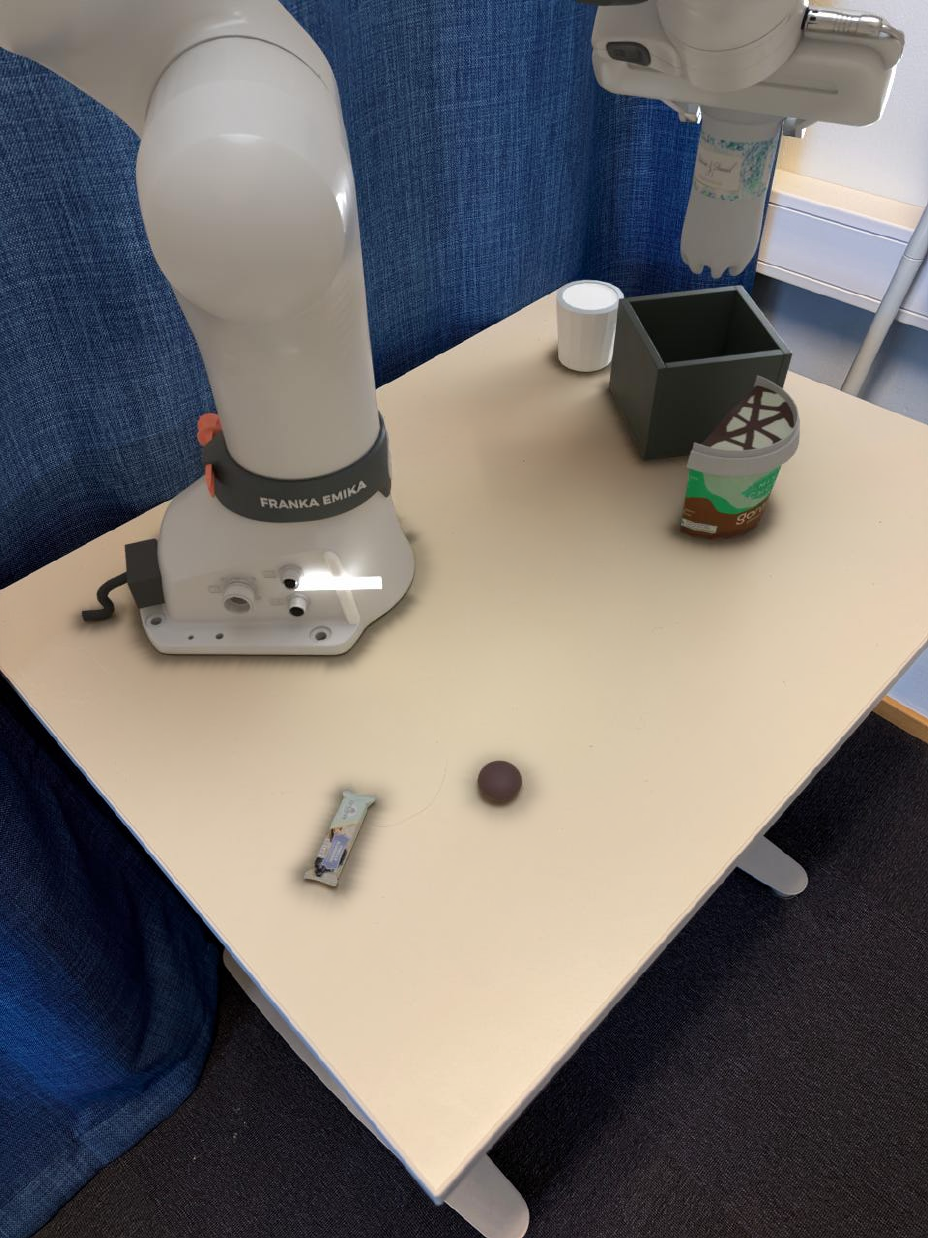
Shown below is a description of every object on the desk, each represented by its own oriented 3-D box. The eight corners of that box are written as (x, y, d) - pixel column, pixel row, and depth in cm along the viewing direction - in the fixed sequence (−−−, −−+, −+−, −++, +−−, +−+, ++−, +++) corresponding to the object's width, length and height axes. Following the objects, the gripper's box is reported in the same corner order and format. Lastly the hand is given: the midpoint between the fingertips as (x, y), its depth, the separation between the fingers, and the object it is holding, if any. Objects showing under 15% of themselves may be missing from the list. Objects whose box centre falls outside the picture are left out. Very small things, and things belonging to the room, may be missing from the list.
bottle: (658, 262, 78) (697, -13, 63) (712, 239, 81) (762, -30, 66) (716, 293, 74) (772, 8, 59) (771, 268, 77) (838, -11, 62)
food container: (737, 570, 75) (765, 476, 67) (671, 540, 77) (690, 446, 70) (799, 491, 81) (830, 396, 73) (736, 466, 84) (760, 372, 76)
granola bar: (345, 792, 62) (343, 784, 61) (377, 801, 61) (375, 793, 60) (304, 881, 57) (301, 873, 57) (337, 891, 57) (335, 884, 56)
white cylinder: (539, 359, 96) (542, 298, 91) (577, 332, 99) (581, 271, 94) (593, 382, 93) (598, 320, 88) (629, 353, 96) (637, 292, 91)
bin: (643, 460, 84) (658, 368, 77) (608, 387, 92) (618, 298, 85) (767, 444, 86) (793, 353, 78) (722, 373, 94) (741, 284, 86)
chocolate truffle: (476, 805, 61) (476, 793, 59) (478, 767, 63) (478, 754, 61) (521, 807, 60) (522, 794, 59) (521, 768, 62) (522, 755, 61)
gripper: (927, -32, 53) (899, 96, 66) (597, -59, 59) (630, 62, 72) (890, 78, 53) (869, 183, 66) (567, 39, 60) (606, 142, 73)
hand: (742, 120), depth 69 cm, fingers closed on bottle, 6 cm apart
